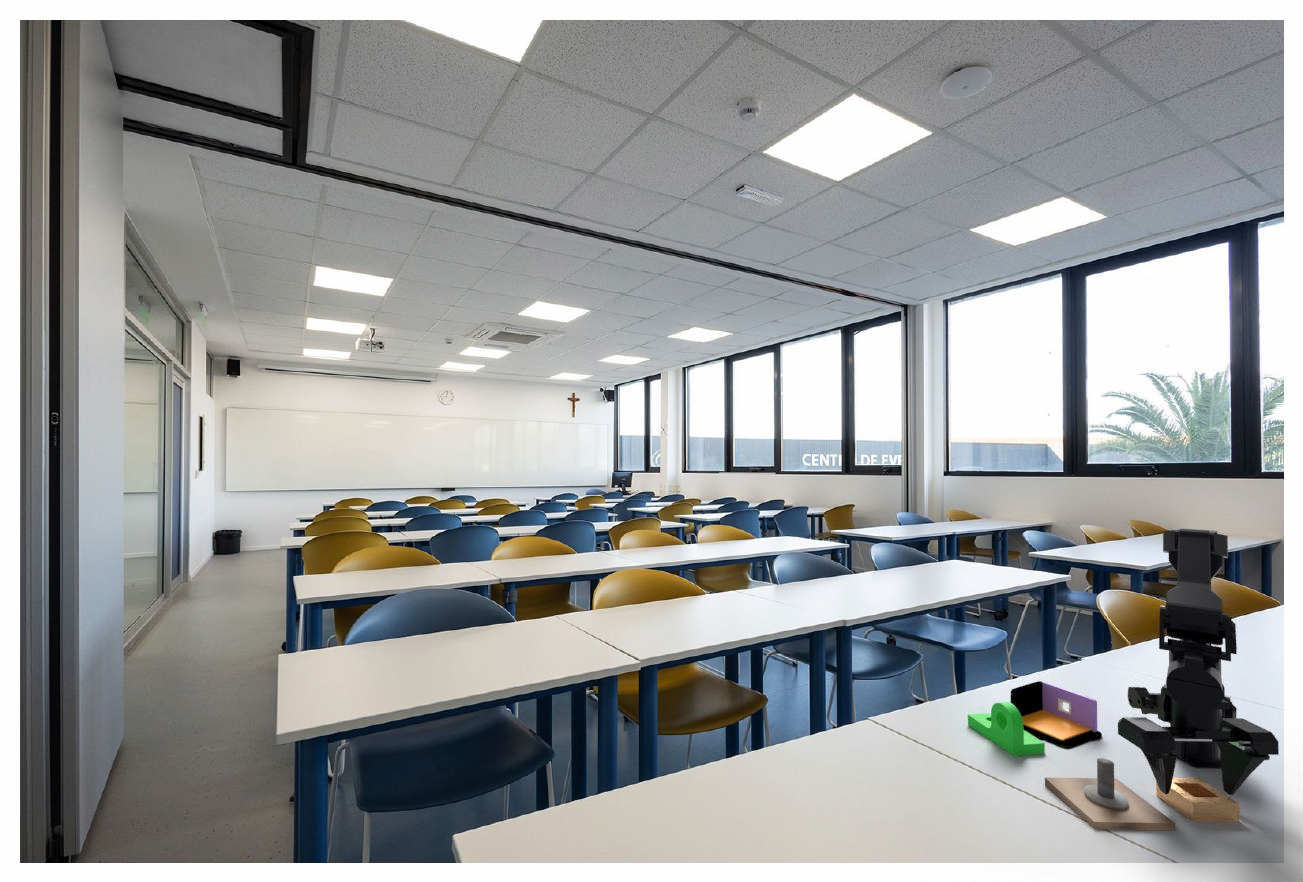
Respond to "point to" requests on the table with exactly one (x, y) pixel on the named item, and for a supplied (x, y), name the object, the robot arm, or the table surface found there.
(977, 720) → the mechanical part
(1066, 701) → the toy room diorama
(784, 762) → the table surface
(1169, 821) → the post stand
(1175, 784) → the wooden collar
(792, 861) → the table surface
